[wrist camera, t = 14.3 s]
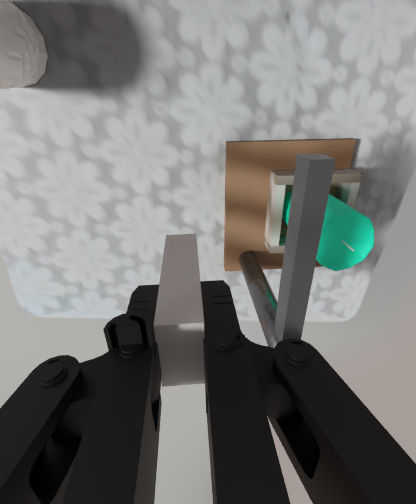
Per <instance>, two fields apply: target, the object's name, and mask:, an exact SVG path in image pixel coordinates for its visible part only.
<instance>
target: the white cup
mask: <svg viewBox="0 0 416 504" xmlns="http://www.w3.org/2000/svg"><path fill="white" fill-rule="evenodd" d="M47 58H48V55H47V50H46V46H45V42H44V37H43V35H42V34H41V32H40V31H39V29H38V28H37V26H36V24H35V23H34V21H33V20H32V18H31V17H29V16H28V15H27V14H26V13H24V12H23V11H22V10H21V9H19V8H18V7H17V6H16V5H14V4H13V3H12V2H11V1H10V0H0V89H6V88H22V87H25V86H29V85H32V84H36V83H37V81H38V80H39V79H40V78H41V77H42V75H43V74H44V73H45V69H46V64H47Z"/></svg>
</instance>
